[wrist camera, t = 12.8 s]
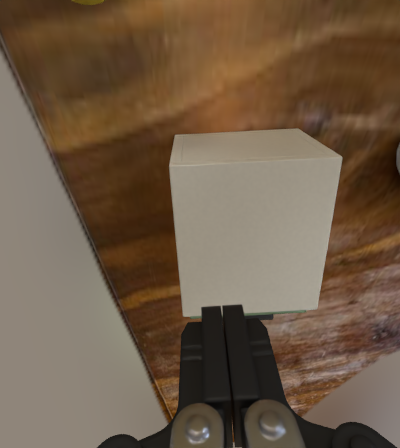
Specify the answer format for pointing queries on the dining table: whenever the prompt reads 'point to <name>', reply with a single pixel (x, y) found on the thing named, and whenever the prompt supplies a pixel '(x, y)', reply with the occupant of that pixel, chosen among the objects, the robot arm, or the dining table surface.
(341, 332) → the dining table surface
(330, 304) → the dining table surface
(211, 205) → the small bedside cabinet
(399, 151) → the donut
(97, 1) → the lemon
